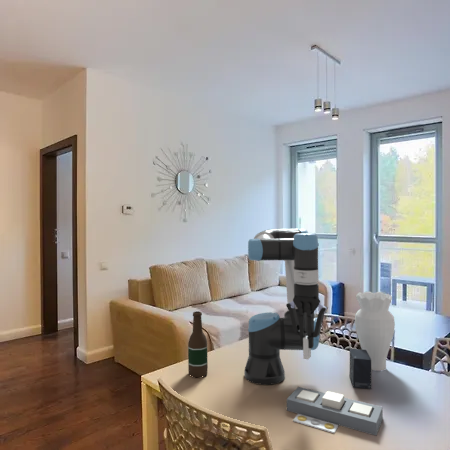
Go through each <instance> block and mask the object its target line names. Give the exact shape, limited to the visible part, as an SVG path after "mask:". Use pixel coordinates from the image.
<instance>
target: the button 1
mask: <svg viewBox="0 0 450 450" xmlns="http://www.w3.org/2000/svg"><path fill="white" fill-rule="evenodd" d="M318 398H319V394H318V393H314V392H309V391H305V390H302V391H301V392H300V394H299V395H298V396H297V399H300V400H304V401H308V402H312V403H315V401H316V400H317V399H318Z"/></svg>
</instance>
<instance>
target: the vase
mask: <svg viewBox="0 0 450 450" xmlns="http://www.w3.org/2000/svg"><path fill="white" fill-rule="evenodd" d="M355 298H356V300H357V302H358V305H359V307H360V309H358V310H357V312H356V313H355V318H354V326H355V330H356V334H357V337H358V338H357V339H358V340H359V345H360V349H362V350H366V351H367V353H368V354H369V356H370V358H371V371H374V372H383V371H385V370H386V369H387V358H388V354H389V352H390V347H391V343H392V341H393V337H394V334H395V325H396V324H395V317H394V315H393V314H392V313H391V311H389V309H390V306H391V303H392V300H393V297H392V295H391V294H389V293H384V292H383V291H382V292H381V291H376V292H372V291H364V292H360V291H359V292H358V293H357V294H356V295H355Z"/></svg>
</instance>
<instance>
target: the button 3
mask: <svg viewBox="0 0 450 450" xmlns="http://www.w3.org/2000/svg"><path fill="white" fill-rule="evenodd" d="M350 413H354V414H358V415H362V416H366V417H369V418H370V417H371V415H372V407H371V406H367V405H363V404H359V403H355V402H354V403H353V405H352V407H351V408H350Z"/></svg>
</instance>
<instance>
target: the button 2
mask: <svg viewBox="0 0 450 450" xmlns="http://www.w3.org/2000/svg"><path fill="white" fill-rule="evenodd" d="M324 393H325V395H324V396H323V397H322V405H323V406H327V407H331V408H335V409H339V410H340V409H341V407H342V406H343V404H344V398H345V394H342V393H340V392H339V393H338V392H334V391H330V390H327V391H326V392H324Z"/></svg>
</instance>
